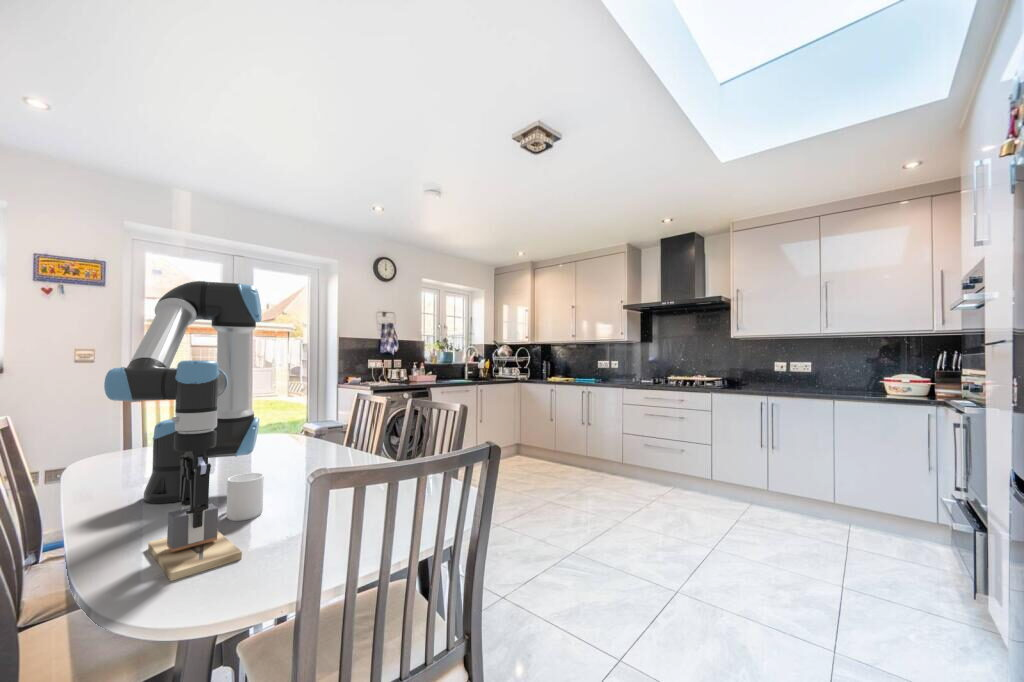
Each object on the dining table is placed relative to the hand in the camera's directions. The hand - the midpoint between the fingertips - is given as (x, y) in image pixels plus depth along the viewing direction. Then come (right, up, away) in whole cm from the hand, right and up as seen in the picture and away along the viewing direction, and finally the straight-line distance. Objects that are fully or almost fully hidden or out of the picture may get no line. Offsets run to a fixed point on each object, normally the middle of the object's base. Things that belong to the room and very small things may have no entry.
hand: (192, 537), depth 94 cm
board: (+1, -3, -1) cm, 3 cm away
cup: (-3, -4, +22) cm, 23 cm away
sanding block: (0, -1, 0) cm, 1 cm away
